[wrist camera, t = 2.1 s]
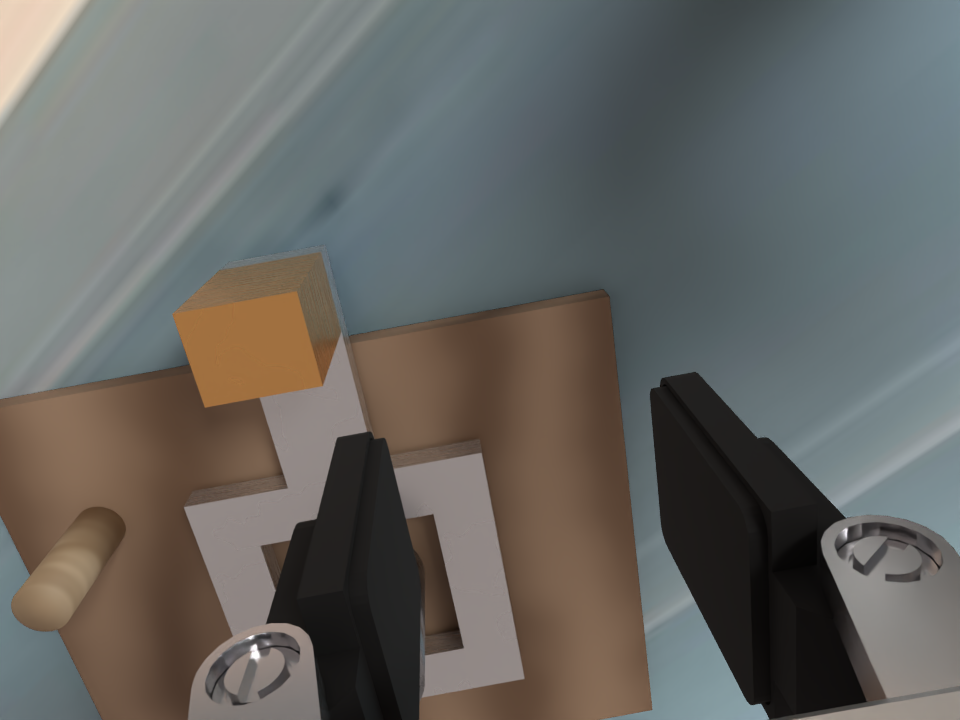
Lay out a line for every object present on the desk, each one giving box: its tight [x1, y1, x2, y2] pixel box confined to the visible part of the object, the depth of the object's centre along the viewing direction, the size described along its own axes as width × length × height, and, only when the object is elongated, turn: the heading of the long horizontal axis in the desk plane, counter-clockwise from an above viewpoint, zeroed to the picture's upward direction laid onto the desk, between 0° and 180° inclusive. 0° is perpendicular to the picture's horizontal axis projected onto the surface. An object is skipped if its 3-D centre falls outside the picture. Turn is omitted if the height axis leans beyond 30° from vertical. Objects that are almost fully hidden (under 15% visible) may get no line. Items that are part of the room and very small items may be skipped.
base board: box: [0, 289, 652, 720], centre depth 32 cm, size 26×22×1 cm
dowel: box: [11, 507, 126, 631], centre depth 28 cm, size 2×2×5 cm
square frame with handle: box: [173, 245, 525, 698], centre depth 27 cm, size 21×12×6 cm, turn 10°
